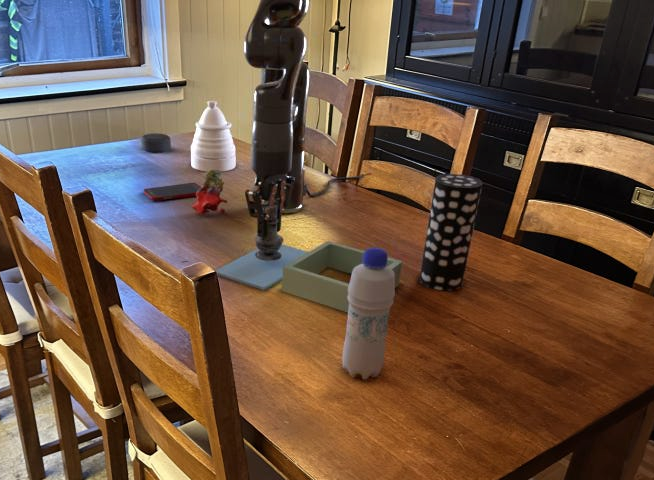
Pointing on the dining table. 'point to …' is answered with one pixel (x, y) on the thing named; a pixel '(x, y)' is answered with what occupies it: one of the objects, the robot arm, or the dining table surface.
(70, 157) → the dining table surface
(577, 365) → the dining table surface
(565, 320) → the dining table surface
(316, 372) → the dining table surface
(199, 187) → the cell phone
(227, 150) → the honey pot
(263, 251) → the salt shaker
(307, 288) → the green rectangular frame
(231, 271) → the drying mat
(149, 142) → the smart speaker
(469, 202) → the spotted tube
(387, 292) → the bottle
